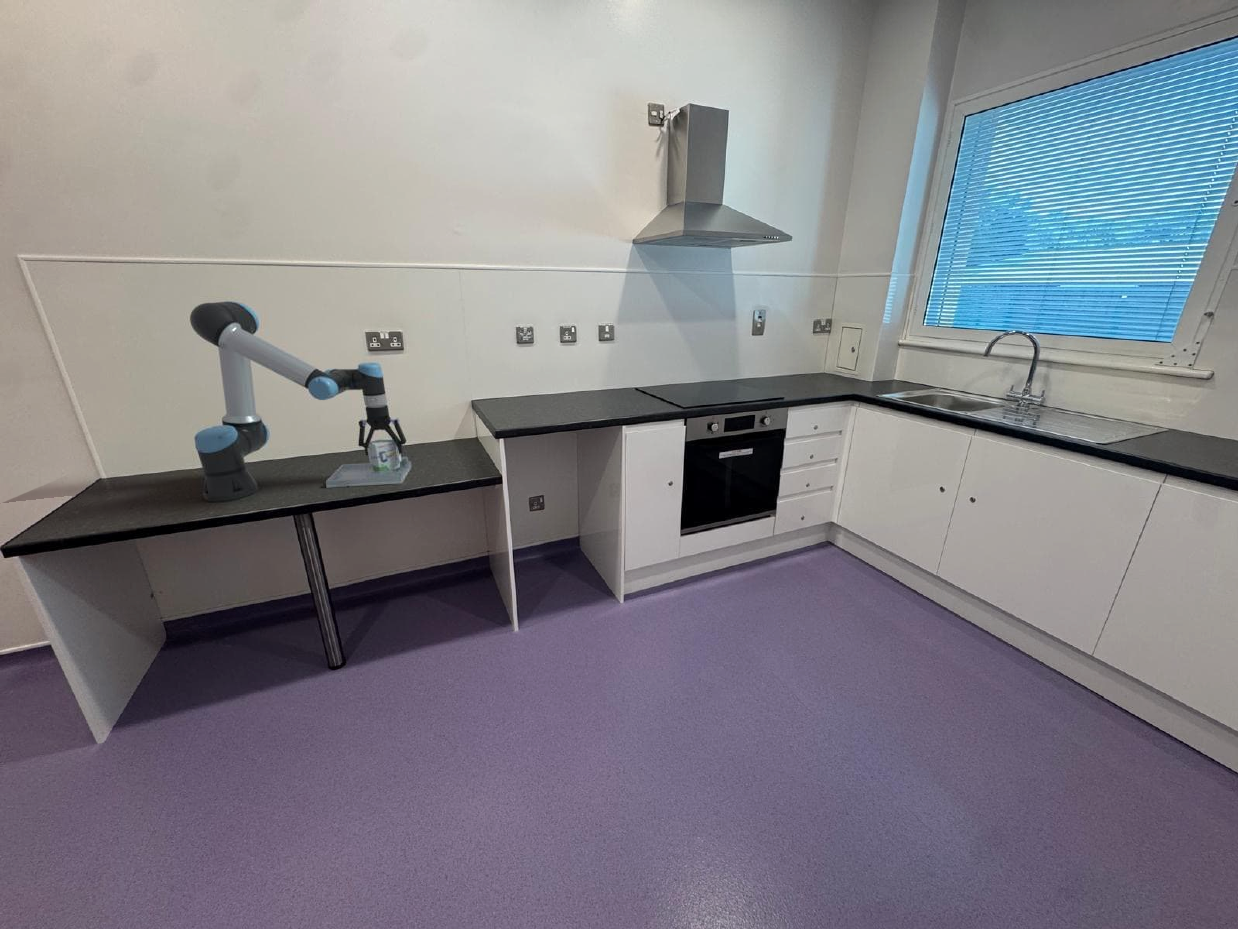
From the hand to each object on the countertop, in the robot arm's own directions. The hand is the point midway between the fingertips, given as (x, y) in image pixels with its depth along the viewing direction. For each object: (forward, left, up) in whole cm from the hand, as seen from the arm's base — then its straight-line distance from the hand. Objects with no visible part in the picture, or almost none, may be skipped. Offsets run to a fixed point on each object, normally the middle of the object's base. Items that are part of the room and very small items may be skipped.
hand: (385, 462), depth 190 cm
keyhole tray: (-6, 0, -6) cm, 8 cm away
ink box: (0, 0, -3) cm, 3 cm away
